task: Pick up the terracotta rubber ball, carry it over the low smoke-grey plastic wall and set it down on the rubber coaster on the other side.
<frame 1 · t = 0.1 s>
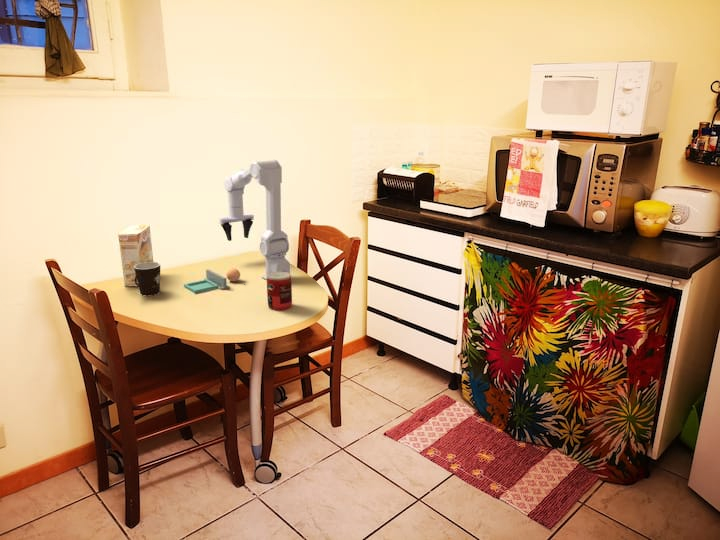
hand: (237, 238, 223), 10 cm above the table, tool pointing down, fingers open, 7 cm apart
wall: (216, 284, 199), on the table
canned food: (280, 307, 178), on the table
ball: (233, 281, 203), on the table
coffeecake box: (140, 280, 204), on the table
coffee mug: (146, 294, 189), on the table
coaster: (201, 287, 196), on the table
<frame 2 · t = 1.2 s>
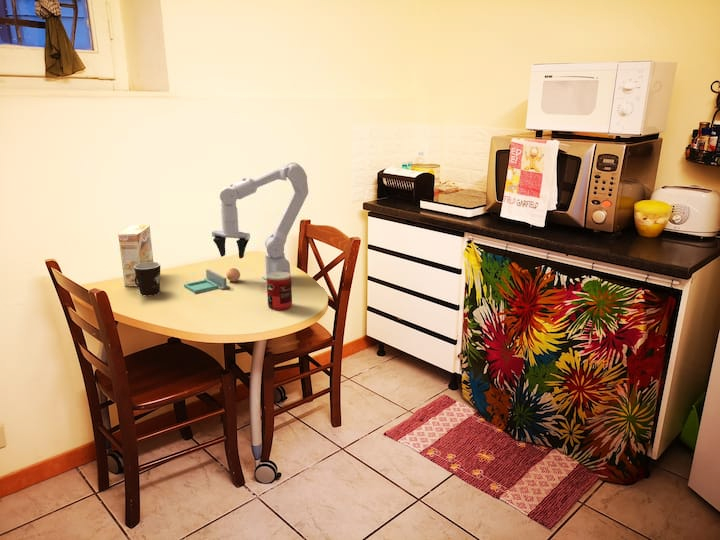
hand: (232, 256, 200), 9 cm above the table, tool pointing down, fingers open, 7 cm apart
nothing on the table moved.
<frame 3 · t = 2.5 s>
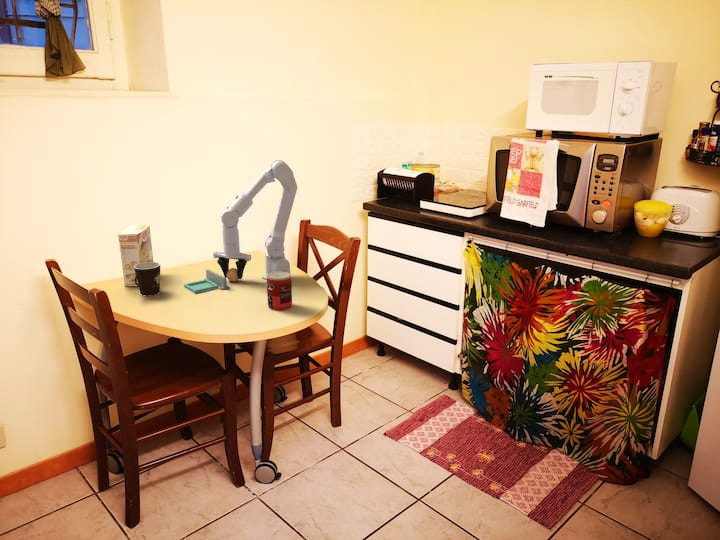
hand: (233, 277, 202), 1 cm above the table, tool pointing down, fingers closed on ball, 5 cm apart
ball: (233, 281, 203), on the table, touching gripper
everything else where it was.
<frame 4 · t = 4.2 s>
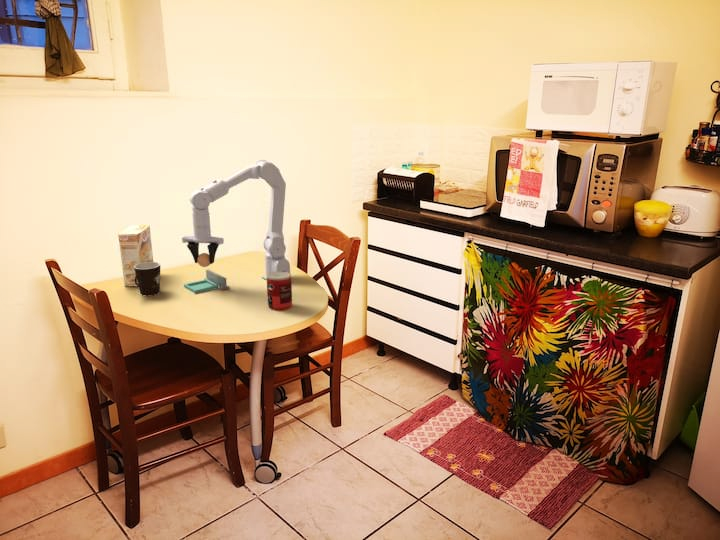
hand: (204, 262, 194), 9 cm above the table, tool pointing down, fingers closed on ball, 5 cm apart
ball: (204, 266, 195), point 8 cm above the table, touching gripper
everything else where it was.
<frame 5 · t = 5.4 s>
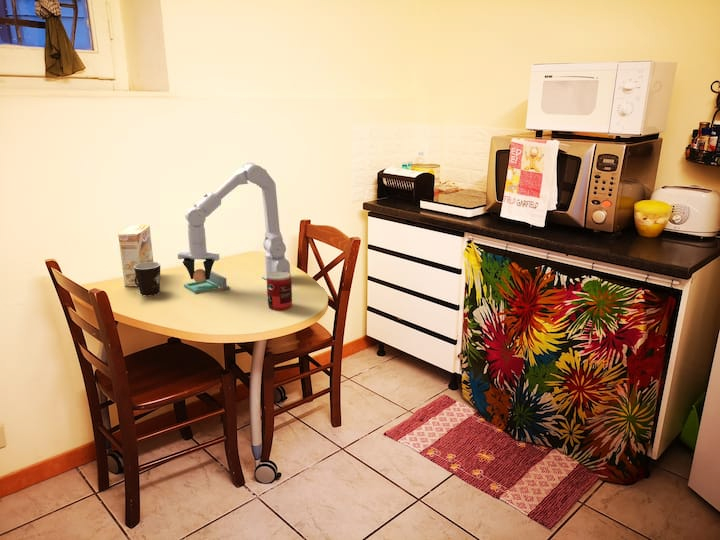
hand: (200, 278, 195), 3 cm above the table, tool pointing down, fingers closed on ball, 5 cm apart
ball: (200, 282, 195), point 2 cm above the table, touching gripper
everything else where it was.
when the fingers open (3 cm above the table, at t = 6.0 s): ball drops 1 cm, resting on coaster.
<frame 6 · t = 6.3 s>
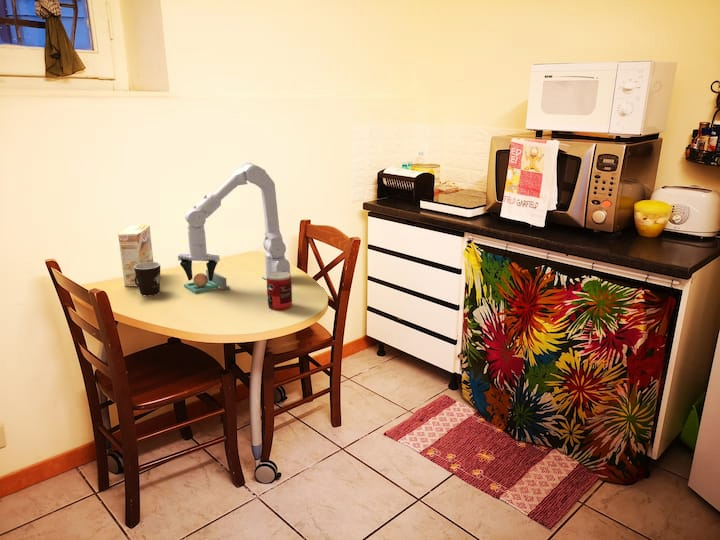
hand: (200, 280, 195), 3 cm above the table, tool pointing down, fingers open, 7 cm apart
ball: (201, 286, 196), resting on coaster
everything else where it was.
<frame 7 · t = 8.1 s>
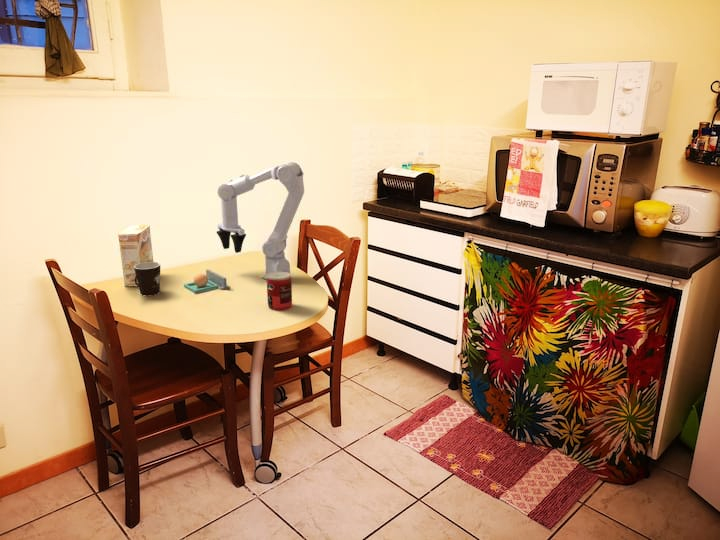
hand: (232, 250, 207), 10 cm above the table, tool pointing down, fingers open, 7 cm apart
nothing on the table moved.
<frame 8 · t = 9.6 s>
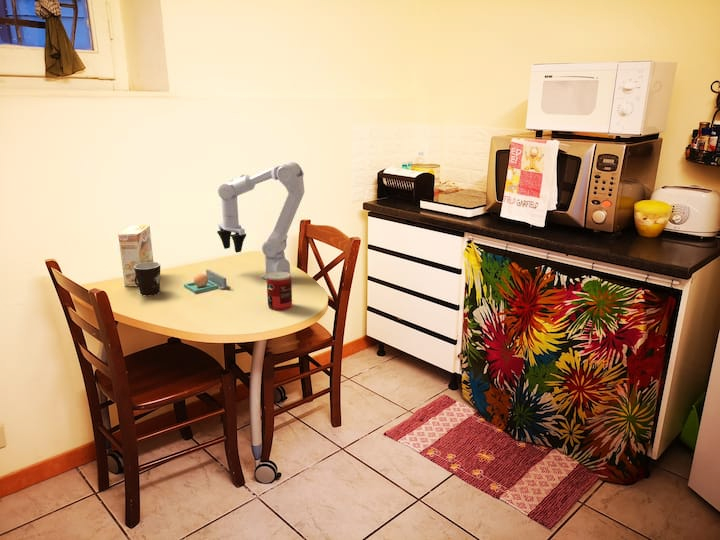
hand: (232, 250, 207), 10 cm above the table, tool pointing down, fingers open, 7 cm apart
nothing on the table moved.
at the end: ball inside the target area on the coaster (0.1 cm from its centre), point 0.3 cm above the coaster's base; the gripper is holding nothing; ball touching coaster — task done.
